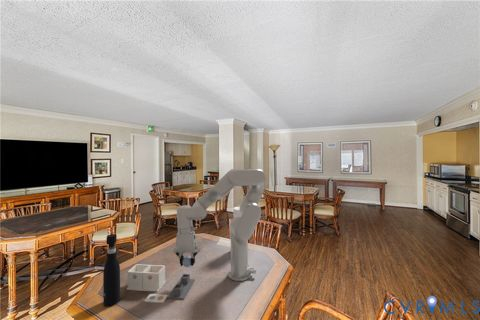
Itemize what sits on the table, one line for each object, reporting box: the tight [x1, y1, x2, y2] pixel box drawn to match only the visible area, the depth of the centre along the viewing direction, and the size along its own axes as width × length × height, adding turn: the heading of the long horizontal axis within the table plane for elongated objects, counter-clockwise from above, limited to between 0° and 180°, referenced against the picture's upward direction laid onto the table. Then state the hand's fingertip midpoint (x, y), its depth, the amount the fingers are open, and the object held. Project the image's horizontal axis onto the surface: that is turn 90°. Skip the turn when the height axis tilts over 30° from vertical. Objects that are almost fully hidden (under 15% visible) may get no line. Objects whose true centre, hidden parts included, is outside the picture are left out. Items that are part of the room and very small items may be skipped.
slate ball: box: [182, 255, 191, 268], centre depth 106 cm, size 5×5×5 cm
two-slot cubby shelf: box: [126, 263, 167, 293], centre depth 104 cm, size 16×8×9 cm, turn 84°
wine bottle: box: [102, 233, 121, 308], centre depth 92 cm, size 6×6×30 cm
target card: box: [143, 293, 169, 304], centre depth 94 cm, size 9×5×1 cm, turn 84°
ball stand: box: [166, 273, 196, 300], centre depth 101 cm, size 8×15×4 cm, turn 174°
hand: (187, 264), depth 106 cm, fingers closed on slate ball, 4 cm apart
